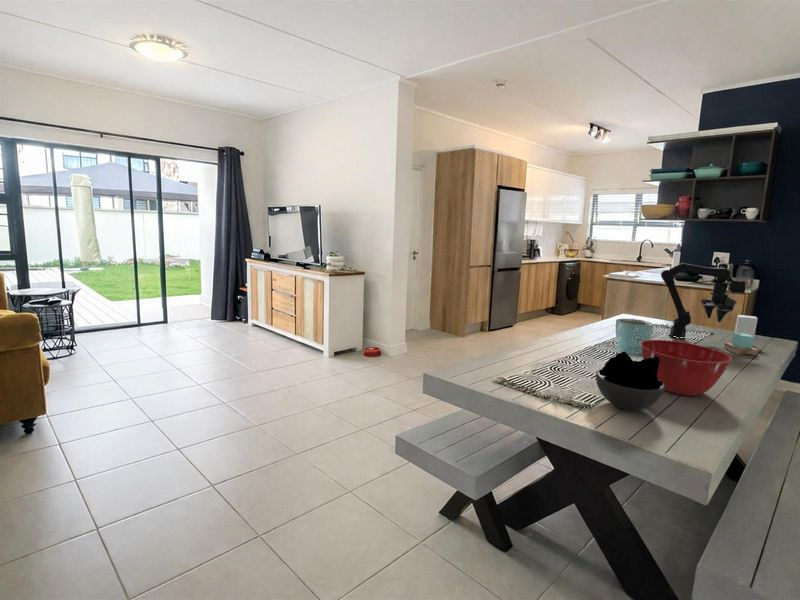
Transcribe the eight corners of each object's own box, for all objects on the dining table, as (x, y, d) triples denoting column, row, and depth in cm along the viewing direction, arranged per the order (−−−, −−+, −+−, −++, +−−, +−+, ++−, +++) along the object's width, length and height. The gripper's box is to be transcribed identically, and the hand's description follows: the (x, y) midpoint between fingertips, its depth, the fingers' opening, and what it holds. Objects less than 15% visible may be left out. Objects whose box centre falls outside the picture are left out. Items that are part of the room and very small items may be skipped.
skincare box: (751, 344, 238) (756, 316, 235) (752, 347, 232) (758, 318, 229) (732, 341, 242) (737, 314, 239) (733, 343, 237) (739, 316, 234)
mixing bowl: (617, 378, 171) (623, 340, 168) (669, 372, 181) (675, 337, 178) (686, 408, 145) (694, 364, 142) (741, 400, 155) (750, 359, 152)
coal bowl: (582, 404, 143) (589, 350, 140) (605, 390, 157) (613, 340, 154) (648, 427, 129) (659, 367, 126) (667, 409, 143) (677, 355, 140)
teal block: (739, 347, 218) (741, 335, 216) (731, 344, 223) (733, 332, 222) (751, 348, 217) (754, 336, 216) (744, 345, 223) (746, 333, 222)
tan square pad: (736, 354, 216) (737, 348, 216) (723, 348, 226) (725, 342, 225) (757, 355, 215) (759, 349, 215) (744, 349, 225) (745, 344, 225)
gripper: (747, 295, 222) (741, 325, 225) (724, 289, 240) (719, 317, 243) (724, 294, 223) (718, 323, 226) (703, 288, 241) (698, 315, 244)
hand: (713, 320), depth 235 cm, fingers open, 9 cm apart
